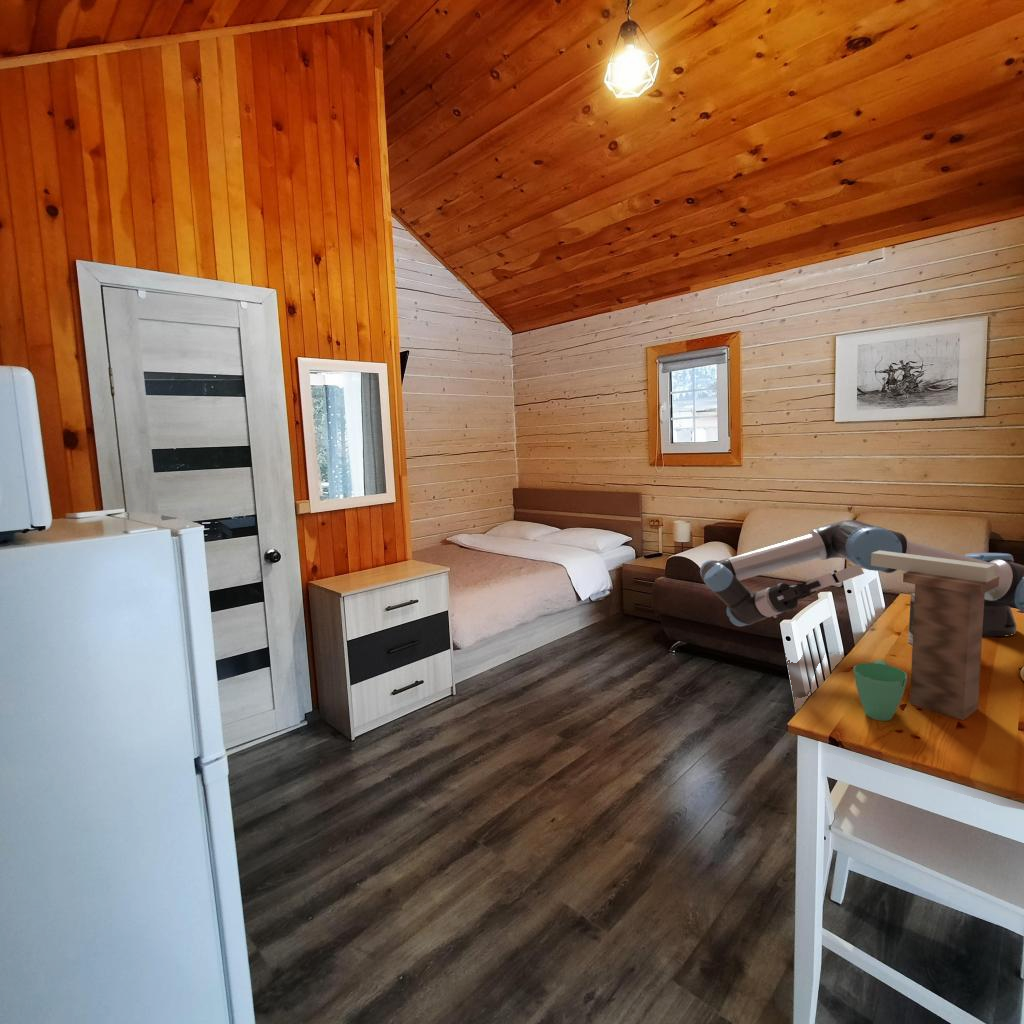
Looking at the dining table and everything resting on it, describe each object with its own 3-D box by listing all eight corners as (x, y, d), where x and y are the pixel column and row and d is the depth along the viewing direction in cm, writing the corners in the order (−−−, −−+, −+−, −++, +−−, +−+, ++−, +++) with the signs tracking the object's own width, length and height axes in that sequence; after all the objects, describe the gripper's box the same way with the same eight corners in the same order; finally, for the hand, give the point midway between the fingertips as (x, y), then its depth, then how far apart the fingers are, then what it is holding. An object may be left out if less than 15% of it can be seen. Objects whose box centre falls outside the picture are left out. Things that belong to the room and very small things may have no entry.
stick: (870, 565, 136) (871, 552, 135) (879, 562, 138) (879, 550, 138) (986, 582, 118) (987, 568, 117) (993, 578, 120) (994, 564, 119)
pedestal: (898, 701, 131) (903, 573, 127) (917, 689, 137) (923, 565, 133) (972, 725, 120) (981, 585, 116) (990, 710, 125) (999, 576, 121)
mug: (906, 730, 119) (908, 684, 118) (851, 720, 124) (852, 676, 123) (904, 701, 131) (906, 659, 130) (854, 693, 137) (855, 652, 135)
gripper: (808, 603, 165) (879, 578, 148) (756, 622, 151) (827, 597, 134) (795, 578, 167) (864, 551, 150) (743, 595, 153) (812, 567, 137)
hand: (847, 573), depth 142 cm, fingers open, 13 cm apart
